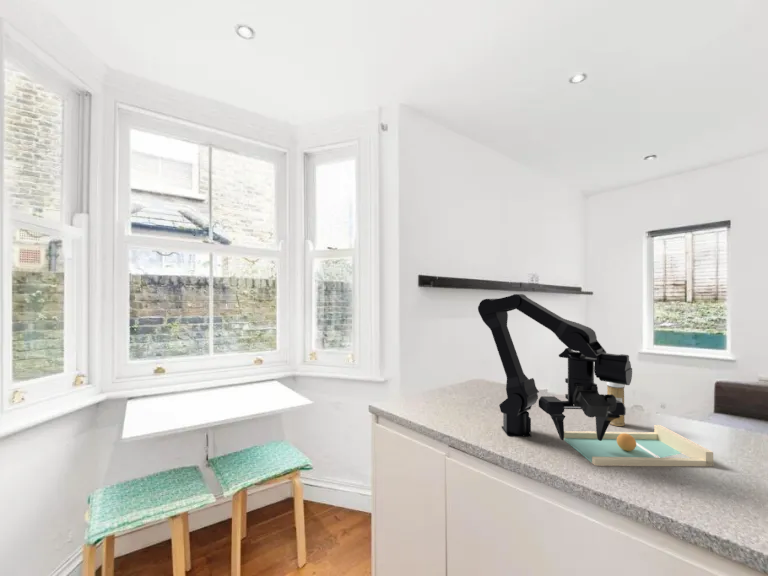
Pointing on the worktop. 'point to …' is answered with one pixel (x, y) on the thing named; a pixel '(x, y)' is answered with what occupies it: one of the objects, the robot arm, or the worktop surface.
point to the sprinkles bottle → (619, 395)
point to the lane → (639, 449)
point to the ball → (626, 442)
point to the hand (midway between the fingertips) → (580, 439)
